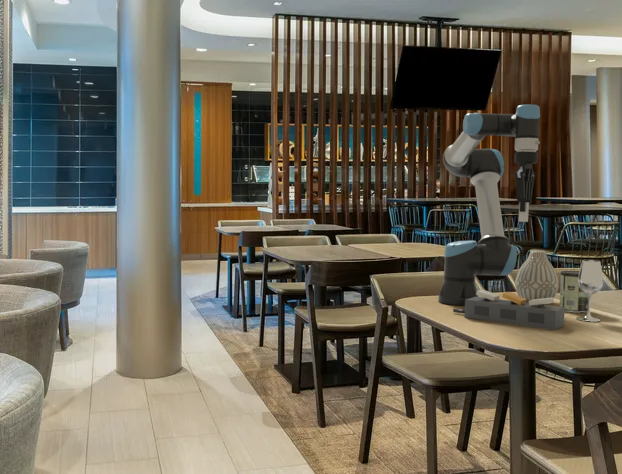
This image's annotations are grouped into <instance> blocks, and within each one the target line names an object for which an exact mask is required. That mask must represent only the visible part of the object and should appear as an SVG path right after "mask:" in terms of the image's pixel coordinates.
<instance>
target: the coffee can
mask: <svg viewBox="0 0 622 474" xmlns="http://www.w3.org/2000/svg"><path fill="white" fill-rule="evenodd" d="M579 271H580V270H562V271H560V289H559V291H560V292H559V293H560V295H559V307H565V311H566V312H565V313H570V312H574V313H573V314H581V313H580V312H588V295H587V294H586V293H584V292H583V291H582V290H581V289H580V288H579V286H578V275H579Z"/></svg>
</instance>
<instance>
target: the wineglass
mask: <svg viewBox="0 0 622 474" xmlns="http://www.w3.org/2000/svg"><path fill="white" fill-rule="evenodd" d="M581 261H582V262H581V264H580V268H579V270H578V271H579V275H578V286H579V288H580V289H581V290H582V291H583V292H584V293H586V294H587V295H588V312H587V313H586V315H584V316H578V317H576V318H575V319H576V320H577V319H578V321H580V320H582V321H581V322H586V321H590V322H589V323H598V321H599V322H601V319H599V318H597V317H593V316H592V315H591V299H592V295H595V294H597V293H599V291H601V289H602V288H603V284H604V276H603V270H602V265H601V264H602V263H601V261H600V260H595V259H583V260H581Z"/></svg>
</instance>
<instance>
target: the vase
mask: <svg viewBox="0 0 622 474" xmlns="http://www.w3.org/2000/svg"><path fill="white" fill-rule="evenodd" d="M514 286H515V290H516V295H517V296H520V297H522V298H524V299H526V302H527V303H529V301H530V300H533V299H543V298H553V299H554V298H555V297H556V295H557V293H558V290H559V277H558V274H557V272H556V270H555V268H554V266H553V265H552V263H551V262H550V261H549V259H548V255H547V252H546V251H545V250H538V249H537V250H532V249H531V250H530V252H529V254H528V257H527V258H526V260H525V261H524V262H523V263H522V265H521V266H520V268H519V269H518V271H517V273H516V276H515V281H514ZM526 302H525V303H526Z"/></svg>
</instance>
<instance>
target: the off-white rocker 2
mask: <svg viewBox="0 0 622 474" xmlns="http://www.w3.org/2000/svg"><path fill="white" fill-rule="evenodd" d="M554 302H555V300H554V298H543V299H533V300H530V301H529V305H538V304H544V305H549V304H552V303H554Z"/></svg>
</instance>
